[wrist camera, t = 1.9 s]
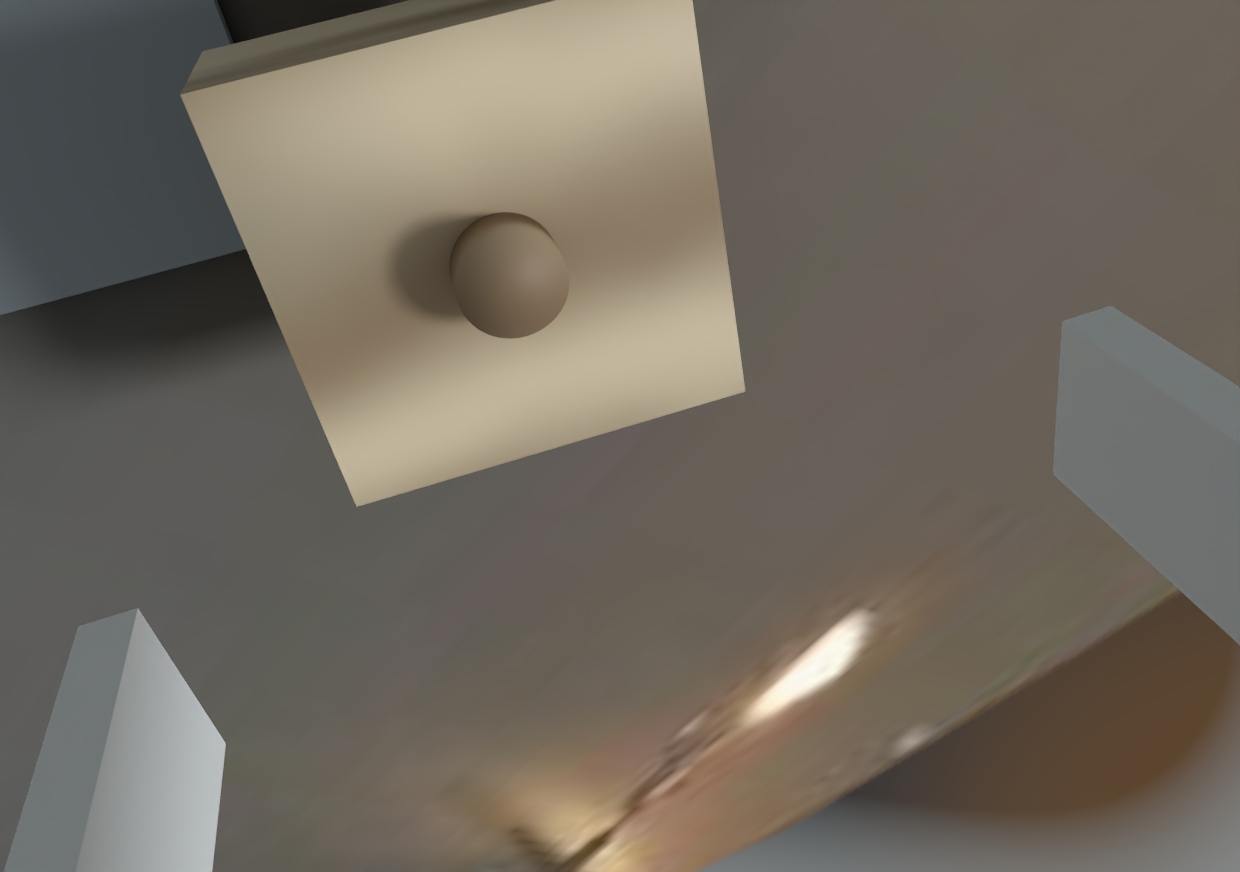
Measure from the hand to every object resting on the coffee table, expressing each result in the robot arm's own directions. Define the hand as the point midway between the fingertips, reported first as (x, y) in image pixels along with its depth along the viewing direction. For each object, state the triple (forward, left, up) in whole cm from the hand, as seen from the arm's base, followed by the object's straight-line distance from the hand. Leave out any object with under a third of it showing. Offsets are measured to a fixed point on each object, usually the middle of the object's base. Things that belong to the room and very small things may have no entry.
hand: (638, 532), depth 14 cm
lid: (0, 0, -14) cm, 14 cm away
